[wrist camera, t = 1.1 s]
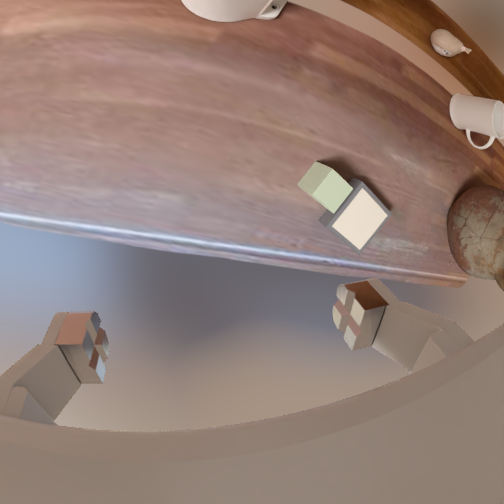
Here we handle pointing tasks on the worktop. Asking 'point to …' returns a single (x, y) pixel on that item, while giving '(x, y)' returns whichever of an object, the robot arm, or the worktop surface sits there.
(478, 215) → the jug
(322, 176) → the green block
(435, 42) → the garlic bulb
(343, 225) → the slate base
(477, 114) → the mug
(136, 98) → the worktop surface
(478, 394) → the robot arm
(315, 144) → the worktop surface
